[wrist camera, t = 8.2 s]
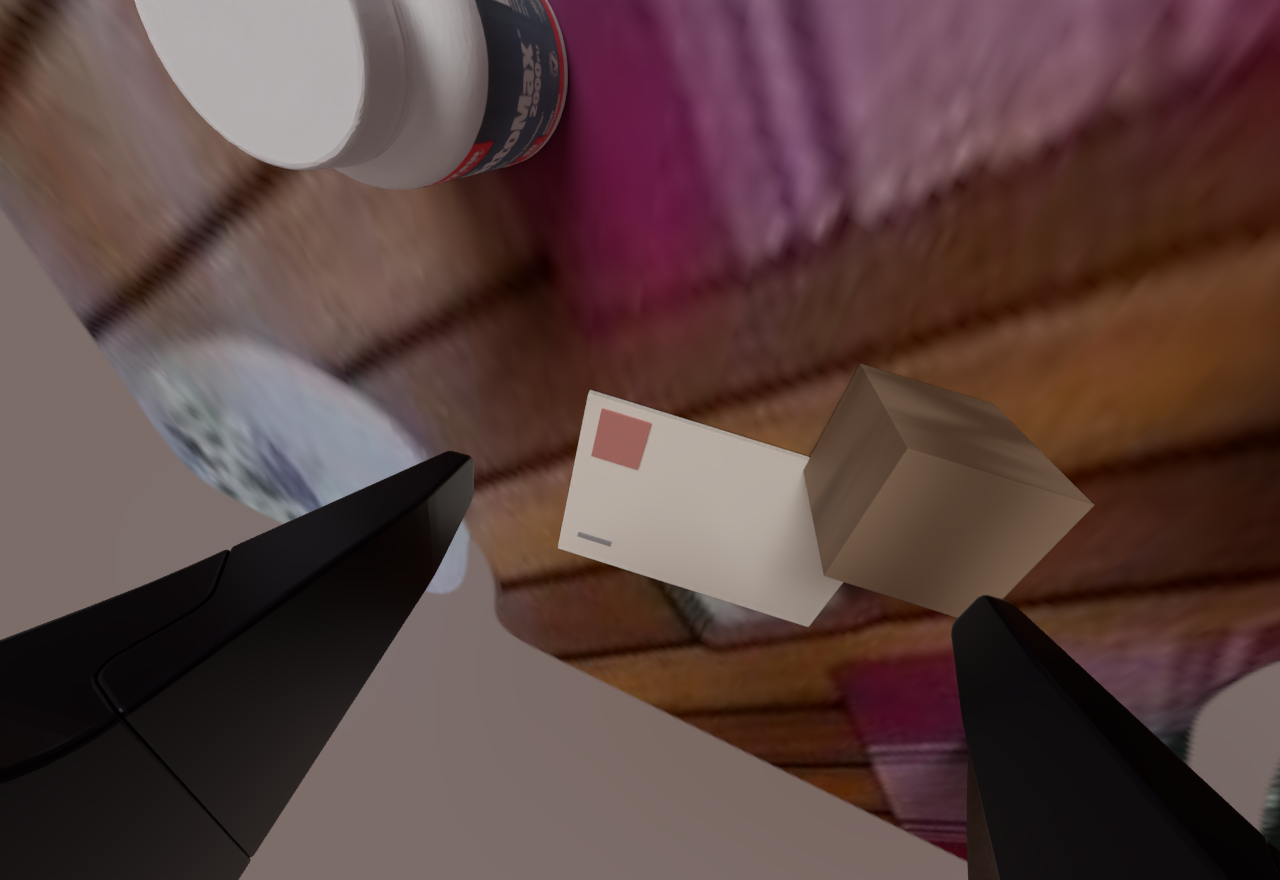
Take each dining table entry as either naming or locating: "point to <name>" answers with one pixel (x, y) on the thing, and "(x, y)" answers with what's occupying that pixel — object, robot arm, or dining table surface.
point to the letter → (695, 510)
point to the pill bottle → (369, 81)
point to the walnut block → (932, 494)
